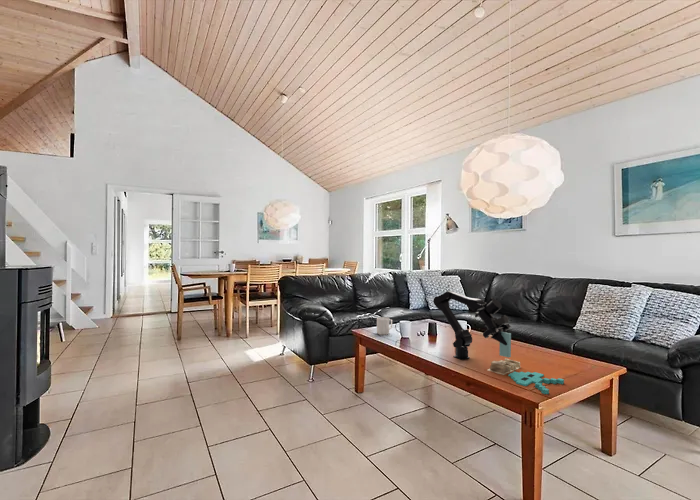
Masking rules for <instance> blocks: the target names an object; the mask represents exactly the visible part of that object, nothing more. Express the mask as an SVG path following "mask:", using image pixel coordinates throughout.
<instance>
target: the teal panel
mask: <svg viewBox="0 0 700 500" xmlns="http://www.w3.org/2000/svg"><path fill="white" fill-rule="evenodd" d="M501 335H502V336H503V338H504V339H505V341H506V343H507V345H504V344H502V343H500V342H499V353H498V354H499V356H501V357H504V358H505V357H506V358H507V359H509V358H511V357H512V352H511V351H512V333H511V332H507V331H506V332H501Z"/></svg>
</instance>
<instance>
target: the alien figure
mask: <svg viewBox="0 0 700 500" xmlns="http://www.w3.org/2000/svg"><path fill="white" fill-rule="evenodd" d="M507 374H508V375H507V376H508V377H509V378H510V379H511V380H513V382H515V384H516V385H520V386H523V387H528V386H529V385H531V384H534V387H535V388H536V389H537V390H538V391H539V390H540V392H541V394H544V395H546V394H547V395H549V394H550V389H549V388H547V387H546V386H545V385H543V384H547V385H548V384H553V385H556V384H559V385H564V383H565V379H563V378H557V379H556V378H553V377H551V378H547V377H544V376H545V375H544V374H543V373H540V372H537V371H534V372H530V371H526V372H524V371H519V372H518V371H516V370H514V371H512V372H510V373H507ZM543 377H544V378H543Z"/></svg>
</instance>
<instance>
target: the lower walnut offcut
mask: <svg viewBox="0 0 700 500" xmlns="http://www.w3.org/2000/svg"><path fill="white" fill-rule="evenodd" d="M489 369H490V370H492V371H496V372H499V373H503V374H504V373H506V372H508V368H507V367H506V368H504V369H501V368H497V367H492V366H491V365H490V367H489ZM492 371H491V372H492Z"/></svg>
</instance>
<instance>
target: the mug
mask: <svg viewBox="0 0 700 500" xmlns="http://www.w3.org/2000/svg"><path fill="white" fill-rule="evenodd" d="M392 328H393V319H390V317H386V316H379V317H378V316H377V318H376V333H377V335H380V336H388V335H389V333H390V330H391V329H392Z"/></svg>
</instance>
